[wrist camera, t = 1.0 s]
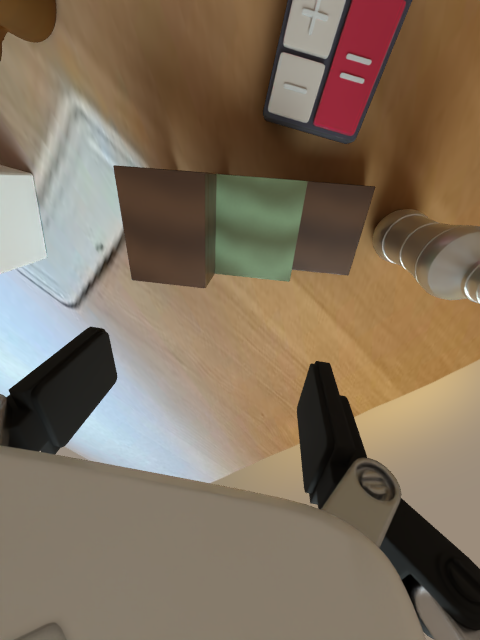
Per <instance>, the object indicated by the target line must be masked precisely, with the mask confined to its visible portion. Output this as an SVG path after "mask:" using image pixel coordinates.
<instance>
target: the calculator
mask: <svg viewBox="0 0 480 640" xmlns="http://www.w3.org/2000/svg"><path fill="white" fill-rule="evenodd" d="M411 2H412V0H288V2H287V6H286V11H285V15H284V20H283V24H282V29H281V33H280V38H279V42H278V47H277V51H276V56H275V60H274V65H273V69H272V74H271V78H270V83H269V87H268V91H267V96H266V100H265V105H264V110H263V115H264V118H265V120H266V121H268V122H272V123H275V124H279V125H282V126H286V127H289V128H292V129H296V130H299V131H303V132H306V133H310V134H313V135H317V136H320V137H323V138H327V139H330V140H334V141H337V142H341V143H344V144H347V143H351V142H353V141H355V139H356V137H357V135H358V132H359V130H360V128H361V125H362V123H363V120H364V118H365V115H366V113H367V110H368V108H369V105H370V103H371V100H372V98H373V96H374V93H375V91H376V88H377V86H378V83H379V81H380V78H381V76H382V73H383V71H384V69H385V66H386V64H387V61H388V59H389V56H390V54H391V51H392V49H393V46H394V44H395V41H396V39H397V37H398V34H399V32H400V29H401V27H402V24H403V22H404V19H405V17H406V14H407V12H408V9H409V7H410V5H411Z"/></svg>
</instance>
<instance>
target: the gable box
mask: <svg viewBox="0 0 480 640" xmlns="http://www.w3.org/2000/svg"><path fill="white" fill-rule="evenodd" d="M46 258H47V254H46V248H45V242H44V237H43V231H42V225H41V220H40V214H39V208H38V203H37V197H36V191H35V186H34V180H33V175H32V174H31V173H28V172H24V171H21V170H17V169H13V168H10V167H6V166H2V165H0V274H2V273H5V272H8V271H11V270H14V269H17V268H20V267H22V266H25V265H28V264H31V263H34V262H37V261H40V260H43V259H46Z"/></svg>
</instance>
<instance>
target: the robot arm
mask: <svg viewBox="0 0 480 640" xmlns="http://www.w3.org/2000/svg"><path fill="white" fill-rule="evenodd" d="M116 380H117V372H116V367H115V363H114V358H113V353H112V348H111V344H110V339H109V335H108V333H107V332H106V331H105V330H104V329H102V328H96V327H89V328H87V329H86V330H85V331H83V332H82V333H81V334H80V335H78V336H77V337H76V338H74V339H73V340H72V341H71V342H69V343H68V344H67V345H65V346H64V347H63V348H62V349H60V350H59V351H58V352H56V353H55V354H54V355H53V356H51V357H50V358H49V359H48V360H46V361H45V362H44V363H42V364H41V365H40V366H39V367H37V368H36V369H35V370H33V371H32V372H31V373H30V374H28V375H27V376H26V377H24V378H23V379H22V380H21V381H19V382H18V383H17V384H16V385H14V386H13V387H12V388H10V389H9V392H10V395H9V396H8V397H5V396H4V395H1V394H0V640H426V638H425V635H424V633H425V634H426V635H427V636H429V637H431V638H432V639H434V640H480V569H479V568H478V567H477V566H476V565H475V564H474V563H473V562H472V561H471V560H470V559H469V558H468V557H467V556H466V555H465V554H464V553H462V552H461V551H460V550H459V549H458V548H457V547H456V546H455V545H453V544H452V543H451V542H450V541H449V540H448V539H447V538H446V537H444V536H443V535H442V534H441V533H440V532H439V531H438V530H437V529H435V528H434V527H433V526H432V525H431V524H430V523H428V522H427V521H426V520H425V519H424V518H423V517H422V516H421V515H420V514H418V513H417V512H416V511H415V510H414V509H413V508H411V506H409V505H408V504H407V503H406V502H405V501H404V500H403V499H402V498H401V489H400V486H399V484H398V482H397V479H396V478H395V477H394V475H393V474H392V473H391V471H389V470H388V469H387V468H386V467H385V466H384V465H382V464H381V463H379V462H378V461H375V460H373V459H370V458H367V455H366V452H365V450H364V446H363V444H362V440H361V438H360V435H359V431H358V428H357V426H356V423H355V419H354V416H353V413H352V410H351V407H350V404H349V401H348V399H347V398H346V397H345V396H340V395H339V391H338V388H337V385H336V382H335V378H334V375H333V372H332V368H331V365H330V363H326V362H319V361H316V362H315V364H310V367H309V370H308V374H307V377H306V380H305V383H304V387H303V390H302V393H301V396H300V400H299V403H298V407H297V418H298V428H299V439H300V449H301V460H302V471H303V481H304V489H305V492H306V493H309V496H310V503H313V504H317V505H318V509H317V508H314V507H312V506H309V505H306V504H302V503H298V502H295V501H291V500H287V499H283V498H279V497H274V496H269V495H264V494H260V493H255V492H250V491H245V490H241V489H236V488H230V487H225V486H220V485H215V484H210V483H205V482H199V481H194V480H189V479H184V478H179V477H173V476H168V475H163V474H157V473H152V472H147V471H142V470H136V469H131V468H125V467H120V466H115V465H109V464H104V463H99V462H93V461H88V460H82V459H76V458H71V457H65V456H60V455H55V454H56V453H57V451H58V450H59V449H60V448H61V447H64V446H65V445H66V444H67V443H68V442H69V440H70V439H71V438H72V437H73V435H74V434H75V433H76V432H77V430H78V429H79V428H80V427H81V425H82V424H83V423H84V422H85V420H86V419H87V418H88V417H89V415H90V414H91V413H92V412H93V410H94V409H95V408H96V406H97V405H98V404H99V403H100V401H101V400H102V399H103V398H104V396H105V395H106V394H107V393H108V391H109V390H110V389H111V388H112V386H113V385H114V384H115V382H116ZM39 451H41V452H39ZM423 632H424V633H423Z"/></svg>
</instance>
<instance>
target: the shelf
mask: <svg viewBox="0 0 480 640" xmlns="http://www.w3.org/2000/svg"><path fill="white" fill-rule="evenodd" d="M113 167H114V173H115V179H116V185H117V191H118V197H119V203H120V210H121V216H122V222H123V228H124V234H125V240H126V246H127V253H128V259H129V265H130V271H131V277H132V280H136V281H145V282H154V283H163V284H172V285H180V286H189V287H198V288H206V286H207V285H208V283H209V282H210V280H211V279H212V277H213V275H214V274H224V275H233V276H242V277H251V278H261V279H270V280H279V281H288V282H289V281H290V276H291V271H292V270H301V271H311V272H320V273H330V274H339V275H349V272H350V269H351V265H352V262H353V259H354V256H355V252H356V249H357V246H358V242H359V239H360V236H361V233H362V229H363V226H364V223H365V220H366V216H367V213H368V210H369V206H370V203H371V200H372V197H373V193H374V190H375V186H362V185H349V184H336V183H324V182H311V181H301V180H289V179H276V178H263V177H250V176H238V175H225V174H213V173H204V172H191V171H178V170H166V169H153V168H140V167H127V166H113Z"/></svg>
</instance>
